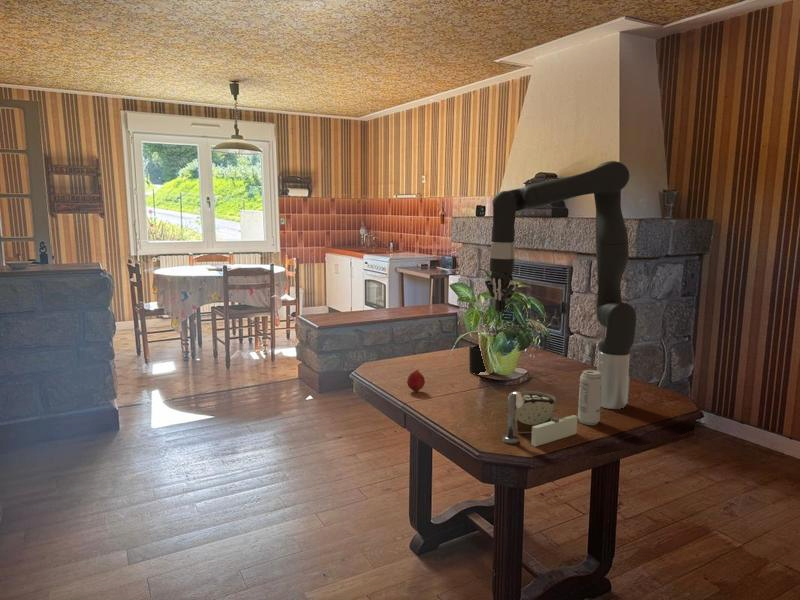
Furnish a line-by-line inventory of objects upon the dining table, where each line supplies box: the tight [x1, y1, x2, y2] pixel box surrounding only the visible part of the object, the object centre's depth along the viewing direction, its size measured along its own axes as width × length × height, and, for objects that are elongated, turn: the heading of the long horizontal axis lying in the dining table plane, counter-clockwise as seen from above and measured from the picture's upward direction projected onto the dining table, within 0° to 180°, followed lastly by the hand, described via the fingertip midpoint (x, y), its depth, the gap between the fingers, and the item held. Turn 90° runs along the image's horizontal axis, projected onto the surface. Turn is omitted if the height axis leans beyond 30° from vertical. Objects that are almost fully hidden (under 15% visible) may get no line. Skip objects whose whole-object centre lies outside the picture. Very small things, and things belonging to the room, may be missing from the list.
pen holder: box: [468, 344, 486, 374], centre depth 206 cm, size 9×9×10 cm
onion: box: [406, 368, 426, 393], centre depth 183 cm, size 6×6×8 cm
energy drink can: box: [577, 369, 602, 426], centre depth 158 cm, size 6×6×15 cm
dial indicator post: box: [502, 391, 524, 445], centre depth 144 cm, size 4×4×13 cm
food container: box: [514, 390, 557, 434], centre depth 153 cm, size 12×6×10 cm, turn 96°
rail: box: [530, 414, 578, 448], centre depth 146 cm, size 16×1×6 cm, turn 123°
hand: (500, 311), depth 172 cm, fingers closed
